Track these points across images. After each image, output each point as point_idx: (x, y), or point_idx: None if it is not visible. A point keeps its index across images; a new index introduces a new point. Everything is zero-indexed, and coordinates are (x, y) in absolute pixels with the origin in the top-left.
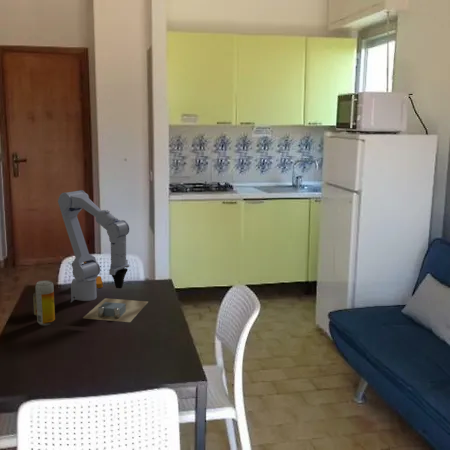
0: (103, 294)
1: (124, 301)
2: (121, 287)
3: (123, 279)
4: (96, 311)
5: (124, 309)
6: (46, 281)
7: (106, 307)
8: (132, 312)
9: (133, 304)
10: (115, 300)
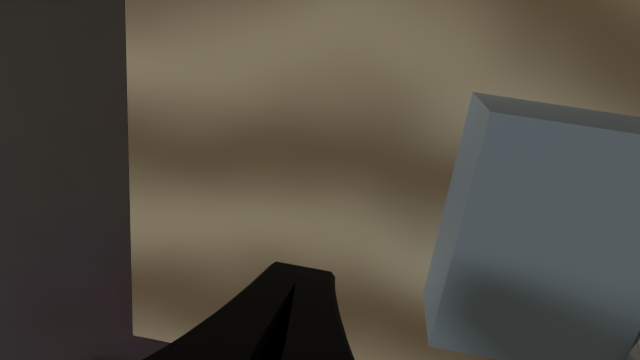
0: (7, 347)
1: (177, 157)
2: (318, 273)
3: (236, 340)
4: (474, 358)
5: (524, 105)
6: None
7: (624, 313)
8: (515, 2)
9: (249, 44)
10: (167, 244)
